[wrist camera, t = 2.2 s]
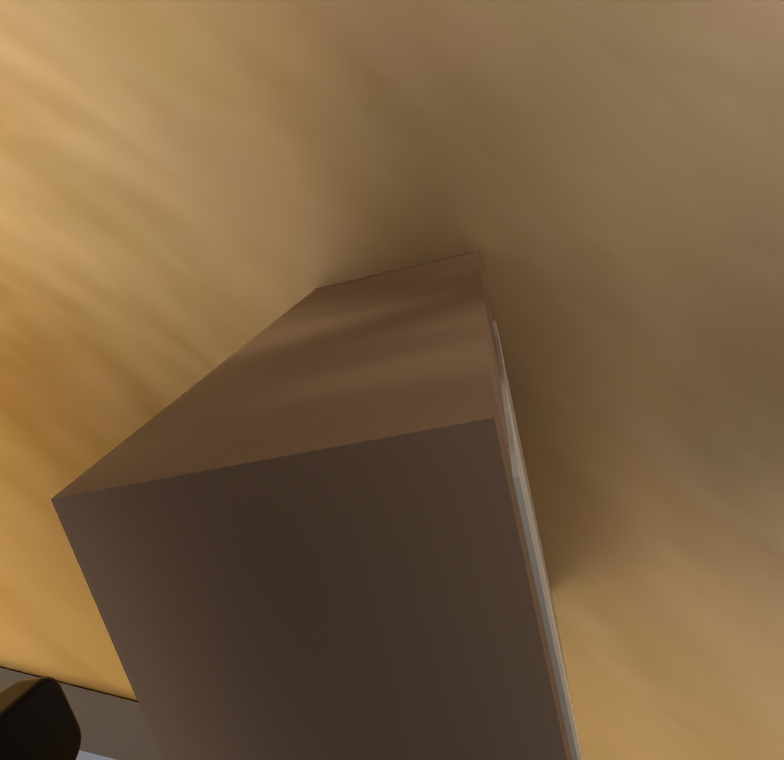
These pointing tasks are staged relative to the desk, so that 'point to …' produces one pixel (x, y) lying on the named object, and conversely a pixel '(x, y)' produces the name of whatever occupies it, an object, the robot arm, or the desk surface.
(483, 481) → the brown recessed panel block
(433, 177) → the desk surface
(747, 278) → the desk surface
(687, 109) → the desk surface
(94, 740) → the stand
